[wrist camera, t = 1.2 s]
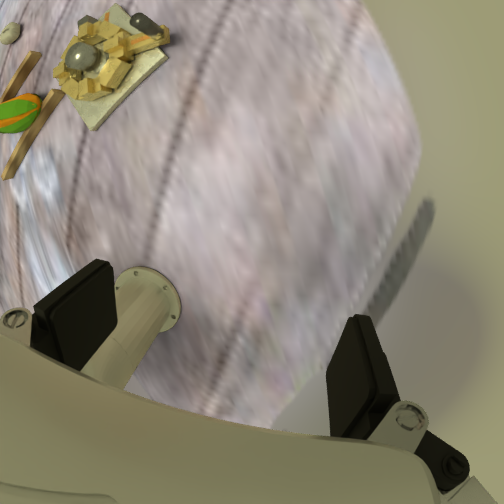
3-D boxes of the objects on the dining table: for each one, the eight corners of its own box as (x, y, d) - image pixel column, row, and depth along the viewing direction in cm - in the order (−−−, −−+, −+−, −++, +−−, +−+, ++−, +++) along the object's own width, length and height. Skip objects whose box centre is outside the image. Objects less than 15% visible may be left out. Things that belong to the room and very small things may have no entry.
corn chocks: (13, 177, 42) (3, 180, 39) (-8, 133, 39) (-17, 134, 36) (65, 94, 36) (54, 92, 33) (40, 52, 32) (30, 50, 30)
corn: (19, 129, 30) (-29, 140, 32) (49, 129, 38) (-4, 138, 39) (26, 85, 28) (-25, 105, 30) (55, 90, 35) (0, 106, 37)
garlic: (28, 23, 29) (12, 19, 25) (18, 45, 31) (2, 43, 27) (15, 24, 29) (0, 21, 24) (6, 45, 31) (-9, 43, 26)
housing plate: (96, 130, 38) (63, 132, 30) (56, 70, 34) (26, 66, 27) (168, 57, 33) (143, 42, 25) (118, 3, 29) (92, -13, 22)
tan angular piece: (72, 109, 35) (38, 108, 27) (70, 45, 31) (39, 37, 23) (172, 73, 32) (146, 59, 25) (167, 3, 28) (144, -19, 20)
